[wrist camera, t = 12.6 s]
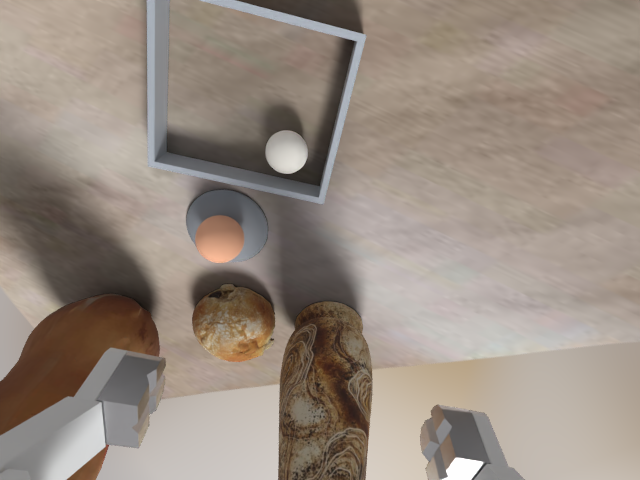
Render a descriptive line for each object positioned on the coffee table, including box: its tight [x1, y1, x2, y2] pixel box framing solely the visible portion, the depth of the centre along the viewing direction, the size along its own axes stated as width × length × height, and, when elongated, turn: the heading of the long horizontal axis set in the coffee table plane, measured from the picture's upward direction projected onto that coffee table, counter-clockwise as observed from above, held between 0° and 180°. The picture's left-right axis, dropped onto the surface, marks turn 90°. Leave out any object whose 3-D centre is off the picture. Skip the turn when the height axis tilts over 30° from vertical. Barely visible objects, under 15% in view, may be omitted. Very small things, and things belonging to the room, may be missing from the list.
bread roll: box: [192, 284, 275, 362], centre depth 46 cm, size 10×10×8 cm
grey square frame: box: [147, 0, 366, 204], centre depth 33 cm, size 17×15×3 cm
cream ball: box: [265, 130, 308, 174], centre depth 35 cm, size 4×4×4 cm
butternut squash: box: [0, 294, 160, 480], centre depth 37 cm, size 14×13×25 cm
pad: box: [186, 189, 268, 262], centre depth 41 cm, size 9×9×1 cm
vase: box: [278, 301, 372, 480], centre depth 36 cm, size 10×11×30 cm
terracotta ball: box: [195, 215, 244, 263], centre depth 39 cm, size 5×5×5 cm
